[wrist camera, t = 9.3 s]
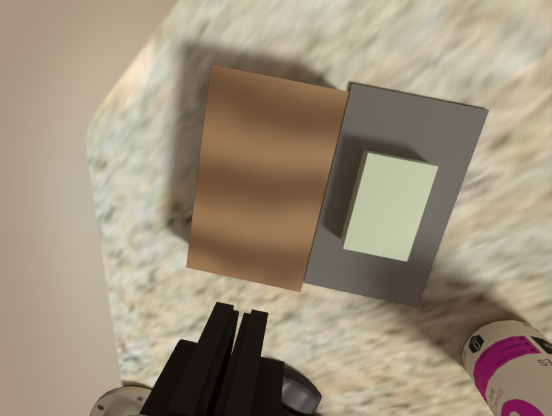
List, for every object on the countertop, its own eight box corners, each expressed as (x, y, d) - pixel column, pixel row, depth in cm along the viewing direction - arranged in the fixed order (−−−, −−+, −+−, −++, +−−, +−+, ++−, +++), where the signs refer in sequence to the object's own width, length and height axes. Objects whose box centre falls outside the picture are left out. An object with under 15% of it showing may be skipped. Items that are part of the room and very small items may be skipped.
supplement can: (453, 377, 37) (548, 547, 23) (466, 313, 35) (581, 457, 20) (530, 383, 36) (678, 561, 22) (549, 318, 34) (728, 470, 20)
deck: (301, 272, 35) (300, 292, 31) (199, 250, 35) (186, 267, 31) (343, 94, 30) (349, 91, 26) (223, 70, 30) (211, 64, 26)
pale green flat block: (343, 248, 31) (340, 239, 33) (407, 261, 31) (399, 251, 33) (368, 153, 28) (363, 149, 30) (438, 166, 28) (428, 162, 30)
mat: (415, 305, 35) (416, 307, 34) (303, 281, 35) (303, 282, 35) (487, 110, 29) (489, 110, 29) (351, 83, 29) (352, 83, 29)
